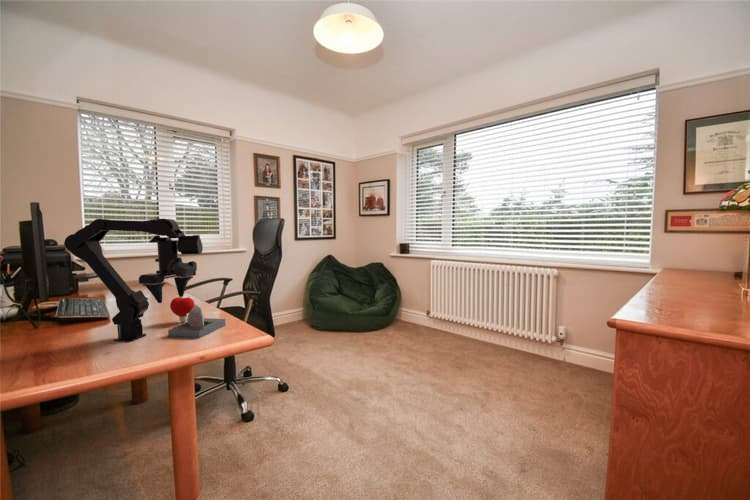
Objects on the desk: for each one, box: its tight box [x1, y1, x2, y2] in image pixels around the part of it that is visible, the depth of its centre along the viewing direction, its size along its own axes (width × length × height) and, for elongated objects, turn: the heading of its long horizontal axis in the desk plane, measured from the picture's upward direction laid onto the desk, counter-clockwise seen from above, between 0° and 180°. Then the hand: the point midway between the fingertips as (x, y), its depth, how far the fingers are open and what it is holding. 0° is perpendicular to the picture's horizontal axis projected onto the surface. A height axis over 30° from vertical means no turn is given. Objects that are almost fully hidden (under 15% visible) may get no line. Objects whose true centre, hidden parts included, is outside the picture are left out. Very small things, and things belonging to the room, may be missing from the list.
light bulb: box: [169, 296, 196, 324], centre depth 124 cm, size 9×7×10 cm
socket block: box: [167, 317, 226, 339], centre depth 114 cm, size 12×14×2 cm
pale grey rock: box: [186, 303, 205, 327], centre depth 113 cm, size 6×4×10 cm, turn 83°
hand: (171, 299), depth 109 cm, fingers open, 9 cm apart
